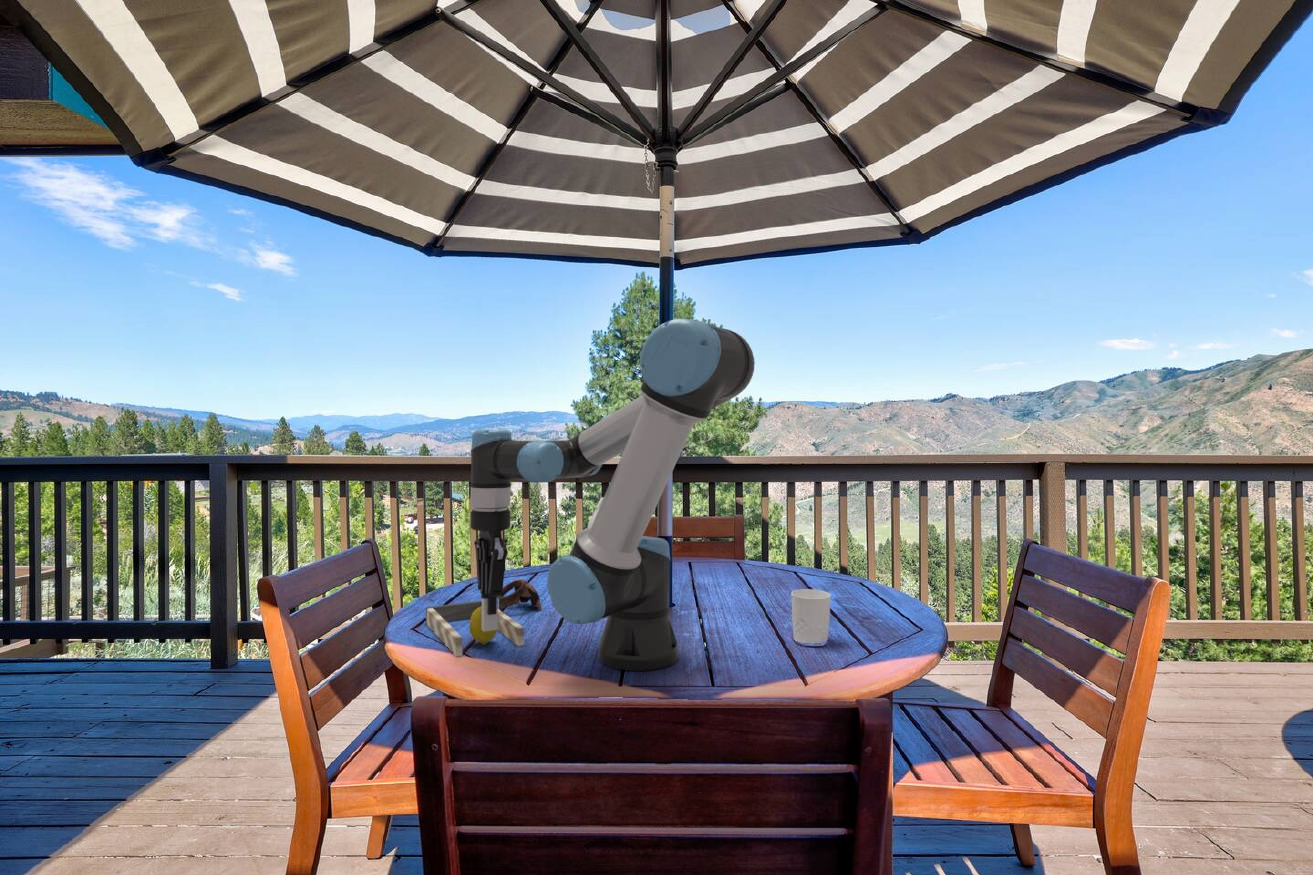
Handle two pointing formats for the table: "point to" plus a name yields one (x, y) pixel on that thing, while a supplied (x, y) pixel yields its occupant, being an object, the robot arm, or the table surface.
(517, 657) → the table surface
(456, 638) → the channel
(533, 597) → the brown open ring
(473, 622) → the lemon
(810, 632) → the white cup
